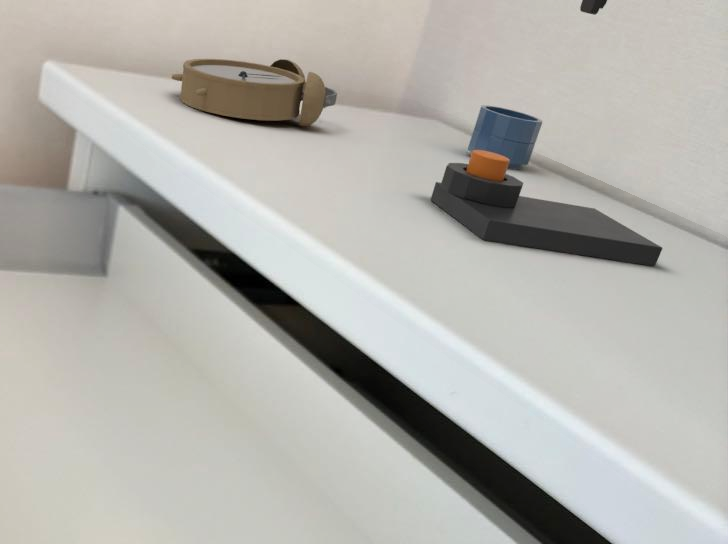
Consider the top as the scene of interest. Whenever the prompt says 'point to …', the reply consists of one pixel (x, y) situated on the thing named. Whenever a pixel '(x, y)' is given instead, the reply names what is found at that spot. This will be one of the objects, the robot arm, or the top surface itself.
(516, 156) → the cup
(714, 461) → the top surface
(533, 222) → the scale
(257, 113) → the alarm clock
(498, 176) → the button
